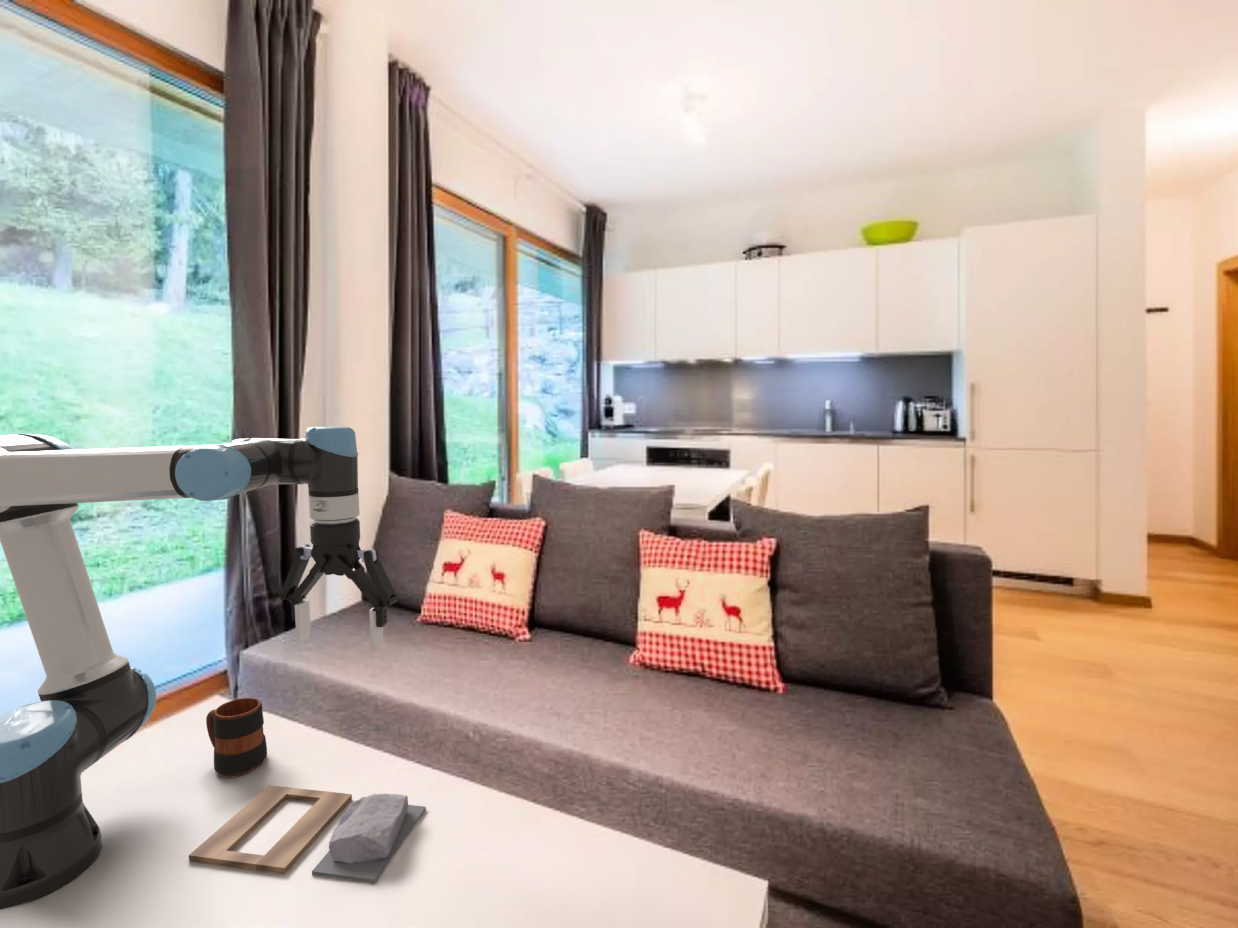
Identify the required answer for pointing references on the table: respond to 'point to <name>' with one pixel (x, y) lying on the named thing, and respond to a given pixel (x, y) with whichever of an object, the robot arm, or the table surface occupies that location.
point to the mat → (369, 869)
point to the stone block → (368, 828)
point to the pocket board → (288, 846)
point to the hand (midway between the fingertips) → (340, 642)
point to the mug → (237, 737)
